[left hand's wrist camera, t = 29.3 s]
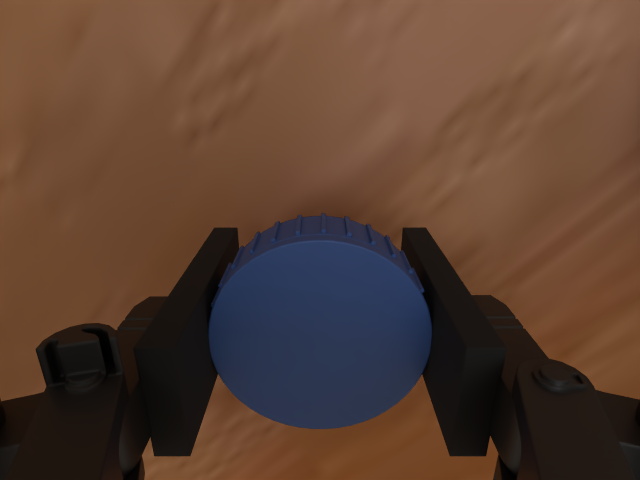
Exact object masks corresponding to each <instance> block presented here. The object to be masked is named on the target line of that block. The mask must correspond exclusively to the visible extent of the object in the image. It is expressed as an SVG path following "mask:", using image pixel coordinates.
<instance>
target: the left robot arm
mask: <svg viewBox="0 0 640 480" xmlns="http://www.w3.org/2000/svg"><path fill="white" fill-rule="evenodd" d="M401 250H403V252H404V253H405V255H406V258H407V260H408V262H409V264H410V266H411V268H414V270H415V272H416V274H417V276H418V278H419V280H420V283H421V285H422V287H423V289H424V291H425V292H423V293H422V294H423V296H424V298H425V300H426V303H427V305H428V307H429V313H430V317H431V323H432V339H431V348H430V355H429V358H428V362H427V364H426V366H425V369H424V371H423V373H422V375H423V378H424V381H425V383H426V386H427V389H428V392H429V395H430V398H431V401H432V404H433V407H434V410H435V413H436V416H437V419H438V422H439V425H440V428H441V431H442V434H443V437H444V440H445V443H446V446H447V449H448V452H449V455H450V456H486V453H487V448H488V443H489V438H490V436H491V438H492V440H493V442H494V444H495V447H496V449H497V451H498V453H499V454H498V459H497V464H496V468H495V473H494V478H493V480H640V400H638V399H634V398H629V397H624V396H619V395H614V394H610V393H605V392H601V391H598V390H595V388H594V386H593V385H592V383H591V382H590V381H589V379H588V378H587V377H586V376H585V375H584V374H582V373H581V372H580V371H578V370H577V369H575V368H574V367H571V366H569V365H567V364H565V363H563V362H560V361H556V360H552V359H549V358H548V357H547V356H546V355H545V353H544V352H543V351H542V350H541V348H540V347H539V346H538V345H537V343H536V342H535V341H534V340H533V338H532V337H531V336H530V334H529V333H528V332H527V331H526V329H523V326H522V324H521V323H520V322H519V321H518V319H515V316H514V314H513V313H512V312H511V311H510V309H509V308H508V307H507V306H506V305H505V304H504V303H502V302H500V301H499V300H497V299H496V298H494V297H493V296H491V295H471V294H470V293H469V291H468V290H467V288H466V287H465V285H464V284H463V282H462V281H461V279H460V278H459V276H458V275H457V273H456V272H455V270H454V269H453V267H452V266H451V264H450V263H449V261H448V260H447V258H446V257H445V255H444V254H443V253H442V251H441V250H440V248H439V247H438V245H437V244H436V242H435V241H434V239H433V238H432V236H431V235H430V233H429V232H428V230H427V229H426V228H403V233H402V246H401ZM238 251H239V242H238V229H237V228H214V229H213V231H212V232H211V234H210V235H209V237H208V238H207V240H206V241H205V243H204V244H203V246H202V247H201V248H200V250H199V251H198V253H197V254H196V256H195V257H194V259H193V260H192V262H191V263H190V265H189V266H188V268H187V269H186V271H185V272H184V274H183V275H182V277H181V278H180V280H179V281H178V283H177V284H176V286H175V287H174V289H173V290H172V291H171V293H170V294H169V296H168V297H149V298H147V299H145V300H144V301H142V302H141V303H139V304H138V305H136V306H134V308H133V309H132V310H131V311H130V313H129V314H128V315H127V317H126V318H125V320H123V322H122V323H121V324H120V325H119V327H118V330H114V329H113V328H112V327H110V326H109V325H105V324H100V323H91V324H82V325H77V326H73V327H69V328H66V329H64V330H61V331H59V332H56V333H54V334H53V335H51V336H50V337H48V338H47V339H45V340H43V341H42V343H41V344H40V345H39V346H38V347H37V348H36V353H37V356H38V359H39V363H40V366H41V369H42V373H43V376H44V379H45V383H46V386H47V387H46V389H45V391H44V392H42V393H39V394H35V395H30V396H25V397H20V398H16V399H11V400H6V401H1V399H0V480H144V476H145V470H144V464H143V459H142V454H143V451H144V449H145V447H146V445H147V443H148V441H149V439H150V437H151V442H152V447H153V452H154V456H190V455H191V453H192V450H193V447H194V444H195V441H196V438H197V435H198V432H199V429H200V426H201V423H202V420H203V417H204V414H205V411H206V408H207V405H208V402H209V399H210V396H211V393H212V390H213V387H214V384H215V381H216V378H217V375H218V372H217V370H216V368H215V366H214V363H213V361H212V357H211V353H210V345H209V337H208V325H209V319H210V315H211V310H212V308H213V307H211V303H212V301H213V299H214V297H215V295H216V293H217V291H218V288H219V287H218V285H219V283H220V281H221V279H222V277H223V275H224V273H225V271H226V269H227V266H228V264H229V263H232V264H233V262H234V260H235V257H236V255H237V253H238Z"/></svg>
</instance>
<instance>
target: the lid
mask: <svg viewBox="0 0 640 480" xmlns="http://www.w3.org/2000/svg"><path fill="white" fill-rule="evenodd" d="M218 287H219V288H218V291H217V293H216V295H215V297H214V299H213V301H212V303H211V307H213V308H212V310H211V315H210V319H209V325H208V337H209V345H210V353H211V357H212V361H213V363H214V366H215V368H216V370H217V372H218V374H219V376H220V377H221V379H222V381H223V382H224V384H225V385H226V386H227V387H228V389H229V390H230V391H231V392H232V393H233V394H234V395H235V396H236V397H237V398H238V399H239V400H240V401H241V402H242V403H244V404H245V405H246V406H248V407H249V408H250V409H252V410H254V411H255V412H257V413H259V414H260V415H262V416H265V417H267V418H269V419H271V420H274V421H277V422H280V423H283V424H286V425H290V426H295V427H300V428H309V429H331V428H340V427H345V426H350V425H354V424H357V423H361V422H364V421H367V420H369V419H371V418H374V417H376V416H378V415H380V414H381V413H383V412H385V411H387V410H388V409H390V408H391V407H393V406H394V405H395V404H397V403H398V402H399V401H400V400H401V399H402V398H404V397H405V396H406V395H407V394H408V393H409V391H410V390H411V389H412V388H413V387H414V386H415V384H416V383H417V381H418V380H419V378H420V376H421V375H422V373H423V371H424V369H425V366H426V364H427V362H428V358H429V355H430V348H431V339H432V323H431V317H430V313H429V307H428V305H427V303H426V300H425V298H424V296H423V294H422V293H423V292H425V291H424V289H423V287H422V285H421V283H420V280H419V278H418V276H417V274H416V272H415V270H414V268H411V266H410V264H409V262H408V260H407V258H406V255H405V253H404V252H403V250H401V251H399V250H398V249H397V248H396V247H395V246H394V245H393V244H392V243H391V240H390V238H389V237H388V236H387V235H386V236H385V237H384V236H382V235H381V234H380V233H378V232H376V231H375V230H373V229H372V228H371V225H369V224H366V226H365V225H363V224H360V223H358V222H355V221H351V220H349V217H347V216H345V217H344V218H338V217H331V216H326V214H325V213H321V216H310V217H302V215H298V217H297V219H293V220H289V221H286V222H283V223H280V222H279V221H278V222H276V223H275V226H273V227H271V228H269V229H268V230H266V231H264V232H262V233H261V234H260V232H257V233H256V234H255V237H254V239H253V240H252V241H250V242H249V243H248V244H247V245H246V246H245V247H243V246H241V247H240V249H239V251H238V253H237V255H236V257H235V260H234V262H233V264H232V263H229V264H228V266H227V269H226V271H225V273H224V275H223V277H222V279H221V281H220V283H219V285H218Z"/></svg>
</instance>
